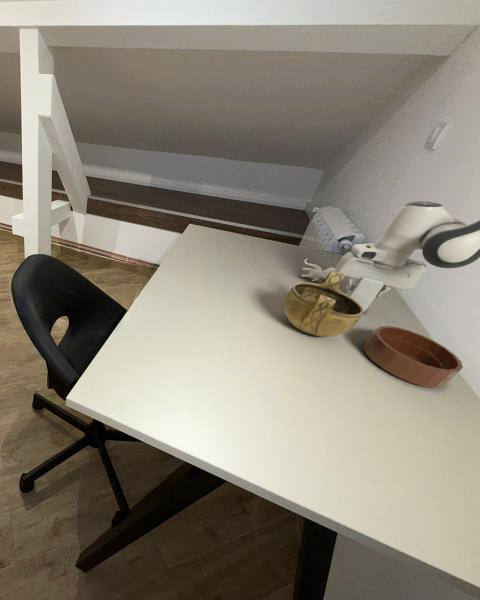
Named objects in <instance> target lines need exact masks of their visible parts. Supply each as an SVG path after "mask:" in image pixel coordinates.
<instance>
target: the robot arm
mask: <svg viewBox="0 0 480 600" xmlns="http://www.w3.org/2000/svg"><path fill="white" fill-rule="evenodd" d="M416 250H422V252H421V253H422V256H423V257H422V258H423V259H424V260H425V261H426V263H428V264H430V265H432V266H433V267H436V268H440V269H441V268H442V269H457V268H462V267H465V266H468V265H470V264H473V263H474V262H476V261H477V260H478V259H479V258H480V218H479V219H478V220H476V221H474V222H472V223H470V224H467V223H466V222H464V221H462V220H460V219H458V218H456V217H455V216H454V215H452V214H451V213H450V212H449V211H448V210H446V208H445V207H444V206H443V204H441V203H439V202H433V201H424V200H423V201H421V200H419V201H410V202H408V203H406V204H404V205H402V207H400V208H399V209H398V210H397V212H395V214H394V215H393V216H392V218H391V219H390V221H389V222H388V224H387V225H386V226H385V229H384V232H383V233H382V235H381V236H380V237H379V238H378V239H377V240H376V241H375V242H370V243H355V244H353V245H352V246H351V251H348V252H346V253H345V254H344V255H343V256H342V257H341V258H340V260H339V261H338V262H337V264H336V266H335V267H334V268H335V270H336V272H339V273H342V274H344V275H345V277H347V285H346V286H345V289H346V290H347V291H349V290H351V291H352V290H353V289H354V288H355V286H354V284H353V282H355V280H356V279H359V280H361V279H362V278H368V279H373V280H378V281H382V282H383V283H384V286H383V287H382V288H381V290H380V291H379V292H378V294H377V295H376V297H375V298H380V297H381V296H382V295H383V294H385V293H387V292H389V291H390V290H391V289H392V288H393V289H398V290H402V291H410V290H412V289H414V287H415V286H416V285H417V283H418V281H419V280H420V278H421V276H422V275H423V274H424V273H425V272H426V270H427V267H428V266H427V264H426V263H425V262H423V261H421V260H415V259H411V258H410V257H411V256H412V254H413V253H414V252H415V251H416Z"/></svg>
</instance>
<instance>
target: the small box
mask: <svg viewBox="0 0 480 600" xmlns="http://www.w3.org/2000/svg"><path fill="white" fill-rule="evenodd" d="M352 284H354V286H355V288H354V289H353V290H352V291H351V290H347V292H346V293H345V294H346V295H348V296H350V297H352V298H353V299H354V300H356V301H357V302H358V303H359V304H360V305H361V306H362V307H363V313H364V312H366V311H367V309H368V307H369V306H370V305H371V304H372V302H373V301H374V299H375V298H377V297H376V295H377V294H378V292H379V291H380V290H381V288H383V286H384V283H383V282H382V281H378V280H373V279H368V278H362V279H361V280H359V279H356V280H355V281H353V282H352Z"/></svg>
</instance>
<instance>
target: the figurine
mask: <svg viewBox="0 0 480 600" xmlns="http://www.w3.org/2000/svg"><path fill="white" fill-rule="evenodd" d="M307 260H308V258H305V259H304V261H303V262H304V264H305V265H307V266H311V267H313V268H310V267H309V268H308V267H302V269H301V270H303V271H307V272H308V274H301V275H300V277H301V278H307V279H309V278H311V279H312V280H311V282H317V281H318V280H319V279H320V278H322V279H324V280H325V279H326V278H327V276H328V275H329V273H330V272H331V271H336V270H335V268H336V267H328V268H327V269H322V267H321V266H320V265H318V264H316V263H309V262H307Z"/></svg>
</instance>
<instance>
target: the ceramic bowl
mask: <svg viewBox="0 0 480 600" xmlns="http://www.w3.org/2000/svg"><path fill="white" fill-rule="evenodd" d="M345 277H346V276H345V275H344V274H342V273H339V272H336V271H331V272H330V273H329V275H328V276H327V278H326V279H324V281H323V282H322V283H314V282H308V281H307V282H306V281H305V282H303V281H299V282H296V283H294V284H293V285H292V287H291V288H290V289H289V292H288V293H287V295H286V297H285V300H284V305H283V310H284V314H285V316H286V319H287V320H288V322H290V324H291V325H292V326H294V327H295V328H296V329H297V330H300V331H301V332H304V333H305V334H308V335H311V336H315V337H324V338H326V337H327V338H328V337H329V338H330V337H336V336H337V337H338V336H340V335H343V334H345V333H347V332H348V331H350V330H351V329H352V328H353V327H354V326H355V325H356V324H357V323H358V322H359V320H360V318H361V316H362V315H363V313H364V312H363V307H362V306H361V305H360V304H359V303H358V302H357V301H356V300H354V299H353V298H352V297H350V296H348V295H346V294H347V293H344V292H342V291H341V290H340V287H341V284H342V282H343V281H344V278H345Z"/></svg>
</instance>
